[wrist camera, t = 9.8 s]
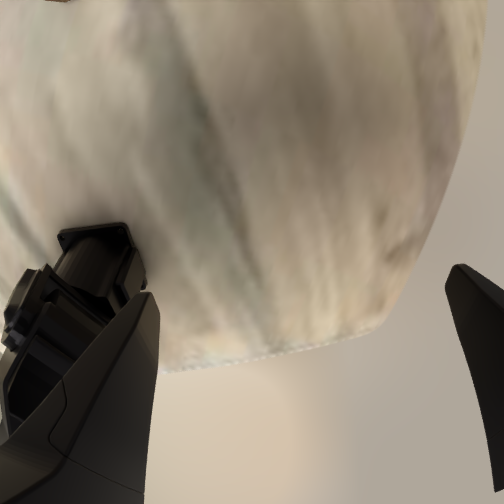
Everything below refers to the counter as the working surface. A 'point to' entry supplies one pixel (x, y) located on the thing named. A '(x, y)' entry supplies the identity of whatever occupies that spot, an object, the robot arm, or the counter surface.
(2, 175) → the counter surface
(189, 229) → the counter surface
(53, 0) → the socket board
